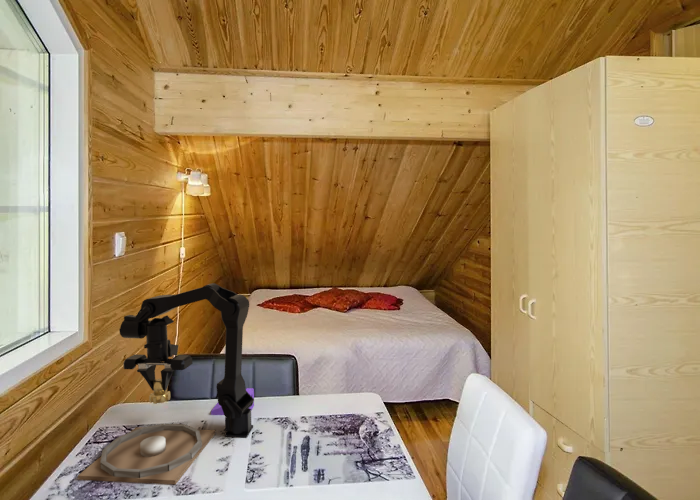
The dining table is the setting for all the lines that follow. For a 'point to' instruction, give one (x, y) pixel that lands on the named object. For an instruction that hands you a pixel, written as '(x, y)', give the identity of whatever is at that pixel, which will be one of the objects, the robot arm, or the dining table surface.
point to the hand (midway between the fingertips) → (159, 390)
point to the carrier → (149, 455)
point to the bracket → (218, 409)
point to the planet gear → (159, 393)
